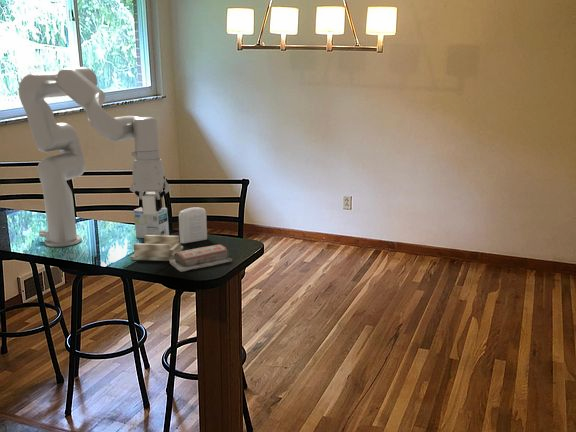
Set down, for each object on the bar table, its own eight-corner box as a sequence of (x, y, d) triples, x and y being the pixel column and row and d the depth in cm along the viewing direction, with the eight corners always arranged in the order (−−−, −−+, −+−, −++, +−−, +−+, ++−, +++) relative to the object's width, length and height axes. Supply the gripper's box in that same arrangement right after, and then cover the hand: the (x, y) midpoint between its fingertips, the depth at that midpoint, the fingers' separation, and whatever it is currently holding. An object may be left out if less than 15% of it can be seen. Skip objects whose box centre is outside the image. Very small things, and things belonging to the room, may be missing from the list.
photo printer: (204, 237, 221) (202, 204, 218) (209, 239, 218) (207, 206, 215) (178, 241, 216) (176, 208, 213) (183, 244, 212) (181, 211, 209)
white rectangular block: (143, 213, 197) (141, 196, 195) (149, 209, 202) (148, 191, 201) (155, 214, 196) (153, 196, 194) (161, 209, 202) (159, 191, 200)
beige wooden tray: (130, 259, 197) (129, 245, 196) (144, 247, 210) (143, 233, 208) (171, 260, 195) (170, 246, 194) (183, 248, 208) (182, 234, 207)
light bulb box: (169, 235, 224) (167, 207, 221) (160, 240, 218) (158, 211, 215) (145, 233, 228) (142, 205, 225) (135, 237, 221) (132, 209, 219)
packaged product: (218, 241, 201) (232, 248, 193) (219, 254, 203) (232, 262, 194) (167, 250, 192) (179, 258, 184) (168, 264, 193) (180, 273, 185)
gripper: (118, 157, 192) (123, 212, 196) (168, 157, 189) (172, 213, 194) (127, 153, 199) (132, 207, 203) (176, 153, 197) (179, 207, 201)
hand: (152, 209), depth 199 cm, fingers closed on white rectangular block, 4 cm apart
